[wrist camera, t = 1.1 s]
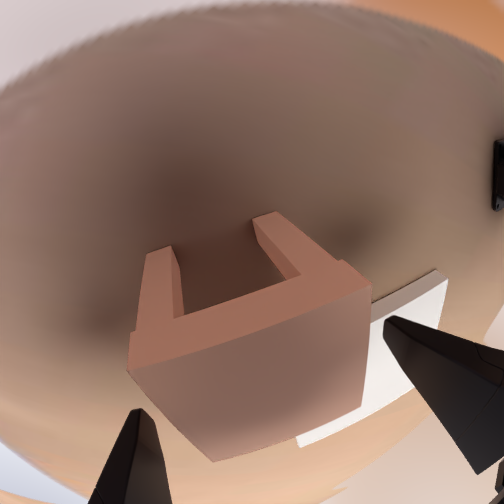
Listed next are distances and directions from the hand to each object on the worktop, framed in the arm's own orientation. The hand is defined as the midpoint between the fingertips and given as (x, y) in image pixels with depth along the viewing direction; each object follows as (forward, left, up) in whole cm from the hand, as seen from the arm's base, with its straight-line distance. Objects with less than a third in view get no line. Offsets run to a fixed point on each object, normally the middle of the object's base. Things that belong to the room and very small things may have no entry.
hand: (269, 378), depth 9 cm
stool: (0, 0, -6) cm, 6 cm away
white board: (-8, +12, -6) cm, 16 cm away
